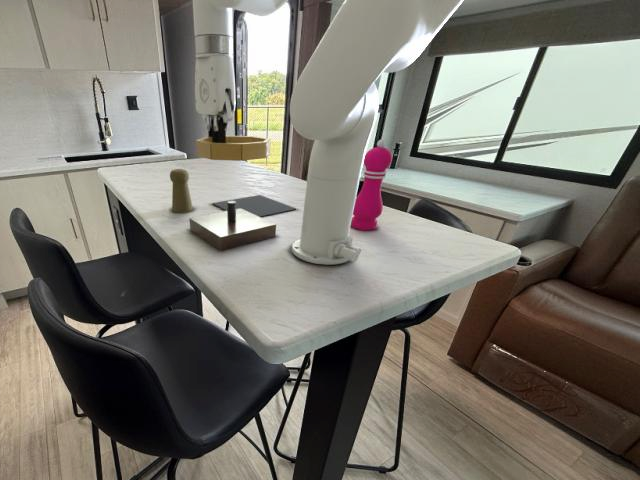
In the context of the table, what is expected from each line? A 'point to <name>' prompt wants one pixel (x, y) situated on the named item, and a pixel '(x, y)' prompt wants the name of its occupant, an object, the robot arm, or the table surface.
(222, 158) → the brass hoop
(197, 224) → the peg stand
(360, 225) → the pepper mill
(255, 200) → the mat
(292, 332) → the table surface
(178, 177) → the olive game pawn
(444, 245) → the table surface
